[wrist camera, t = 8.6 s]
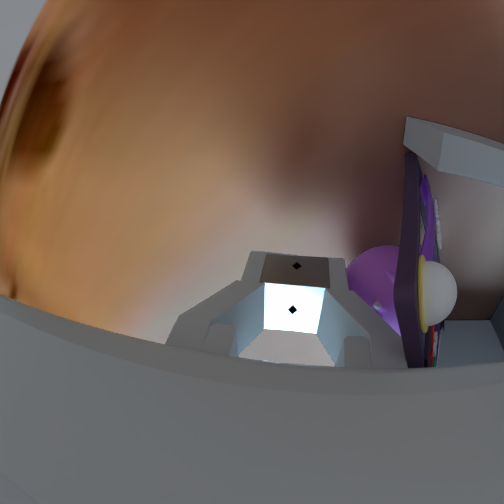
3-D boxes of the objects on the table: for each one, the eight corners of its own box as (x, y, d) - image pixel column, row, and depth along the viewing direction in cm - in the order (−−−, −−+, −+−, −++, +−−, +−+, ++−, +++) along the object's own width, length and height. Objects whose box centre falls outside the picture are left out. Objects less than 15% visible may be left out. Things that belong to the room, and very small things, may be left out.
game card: (442, 449, 7) (456, 290, 4) (328, 437, 11) (215, 302, 7) (457, 320, 12) (434, 145, 8) (367, 325, 15) (306, 177, 11)
